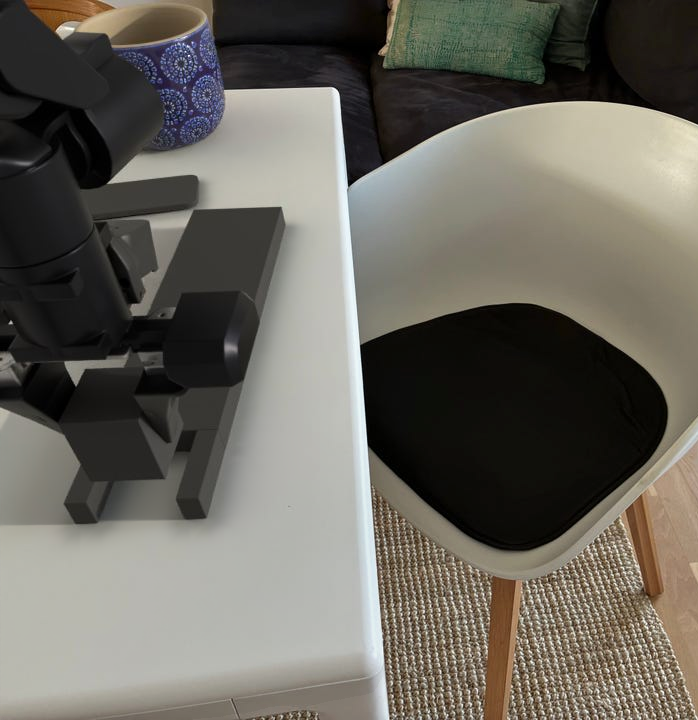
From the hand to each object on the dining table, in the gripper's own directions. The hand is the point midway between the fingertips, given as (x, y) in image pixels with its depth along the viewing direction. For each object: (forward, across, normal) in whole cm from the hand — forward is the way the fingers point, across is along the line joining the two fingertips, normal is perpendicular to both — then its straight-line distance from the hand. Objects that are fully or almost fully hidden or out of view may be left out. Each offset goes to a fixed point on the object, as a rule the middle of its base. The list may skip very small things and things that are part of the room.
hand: (132, 439), depth 50 cm
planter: (+12, +18, -68) cm, 71 cm away
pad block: (+1, 0, 0) cm, 1 cm away
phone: (+12, +18, -50) cm, 54 cm away
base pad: (+11, +4, -23) cm, 26 cm away
